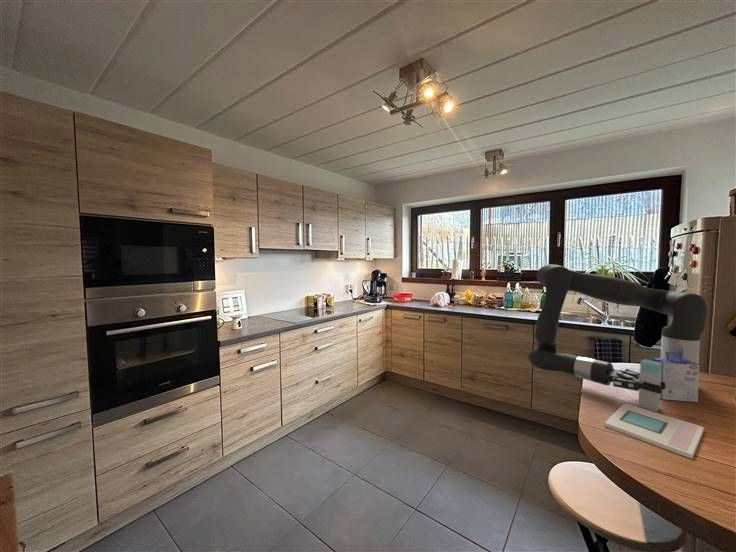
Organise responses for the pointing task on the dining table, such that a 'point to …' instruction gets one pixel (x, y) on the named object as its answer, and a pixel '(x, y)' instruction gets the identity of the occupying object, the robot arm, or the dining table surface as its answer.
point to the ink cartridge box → (679, 378)
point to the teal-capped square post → (651, 374)
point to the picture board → (657, 429)
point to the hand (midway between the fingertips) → (662, 388)
